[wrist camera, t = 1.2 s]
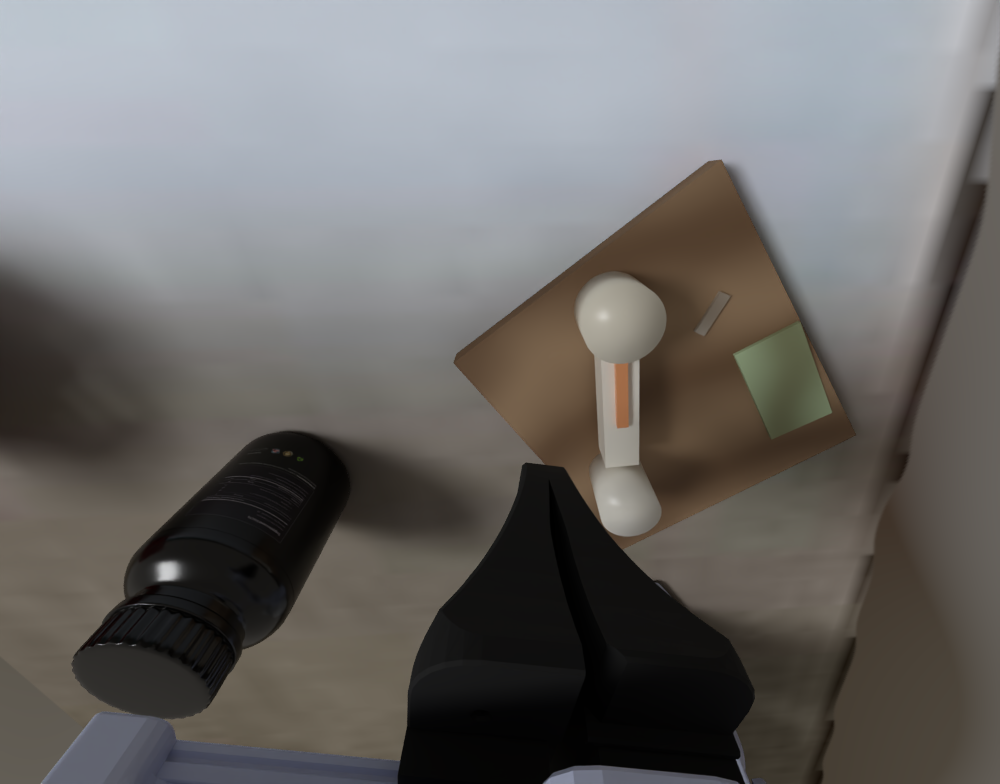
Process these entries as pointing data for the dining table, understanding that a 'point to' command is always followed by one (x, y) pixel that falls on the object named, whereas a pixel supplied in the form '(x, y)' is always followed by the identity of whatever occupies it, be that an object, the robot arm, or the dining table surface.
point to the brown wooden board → (672, 359)
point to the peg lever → (620, 394)
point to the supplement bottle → (216, 578)
